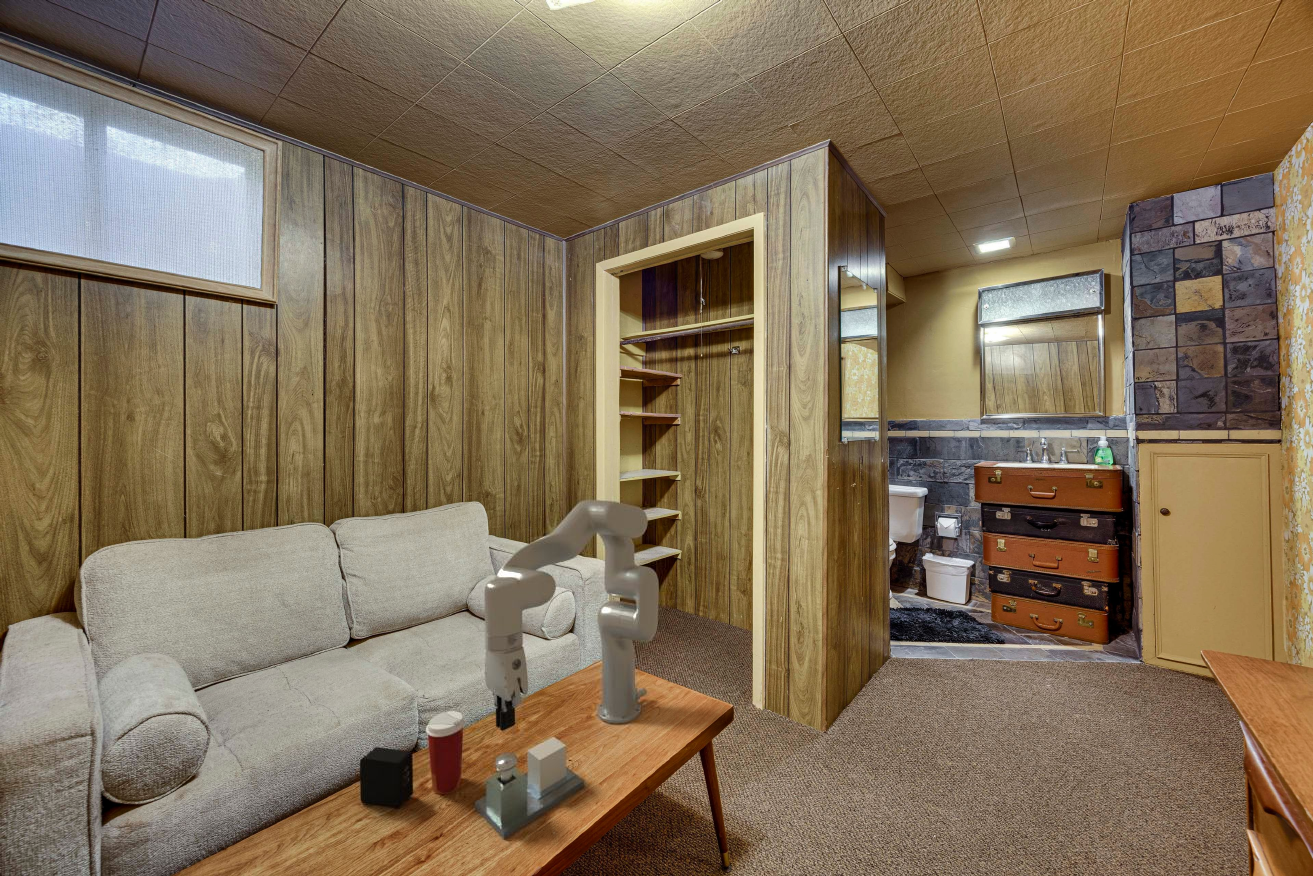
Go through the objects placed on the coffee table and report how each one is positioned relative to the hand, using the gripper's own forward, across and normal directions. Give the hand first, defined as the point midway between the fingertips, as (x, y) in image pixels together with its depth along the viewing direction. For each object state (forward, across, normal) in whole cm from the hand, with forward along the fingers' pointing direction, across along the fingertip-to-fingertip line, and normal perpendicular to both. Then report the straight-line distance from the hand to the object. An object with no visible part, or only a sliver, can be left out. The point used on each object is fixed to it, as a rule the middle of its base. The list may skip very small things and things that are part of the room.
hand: (505, 725), depth 105 cm
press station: (+19, +1, -6) cm, 20 cm away
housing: (+17, +2, -11) cm, 21 cm away
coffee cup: (+19, +19, +4) cm, 27 cm away
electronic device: (+19, +24, +16) cm, 34 cm away
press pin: (+13, 0, 0) cm, 13 cm away
